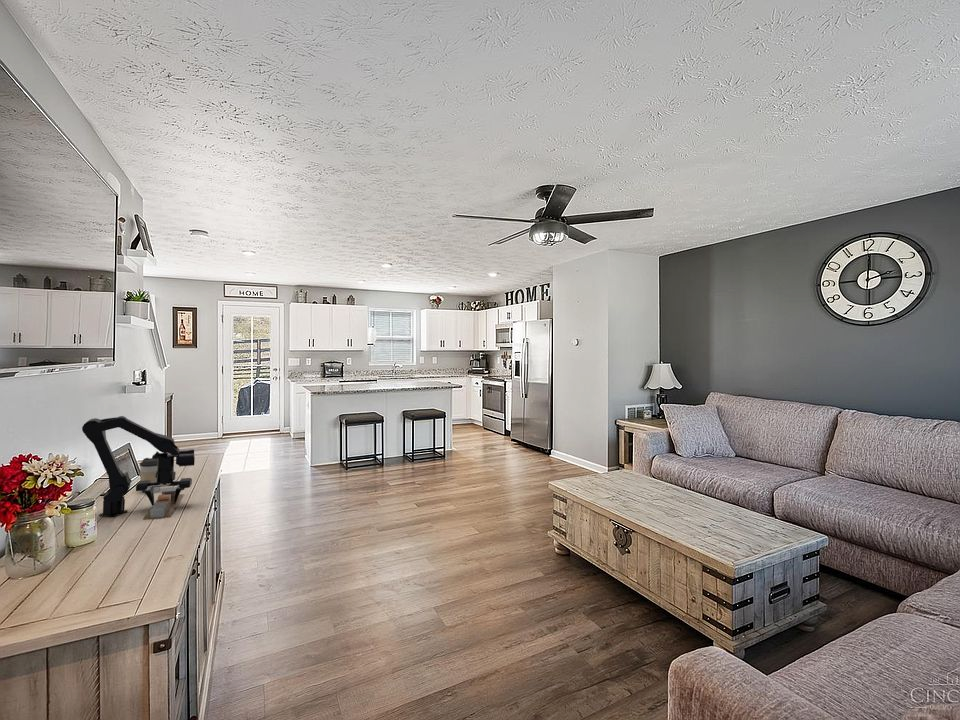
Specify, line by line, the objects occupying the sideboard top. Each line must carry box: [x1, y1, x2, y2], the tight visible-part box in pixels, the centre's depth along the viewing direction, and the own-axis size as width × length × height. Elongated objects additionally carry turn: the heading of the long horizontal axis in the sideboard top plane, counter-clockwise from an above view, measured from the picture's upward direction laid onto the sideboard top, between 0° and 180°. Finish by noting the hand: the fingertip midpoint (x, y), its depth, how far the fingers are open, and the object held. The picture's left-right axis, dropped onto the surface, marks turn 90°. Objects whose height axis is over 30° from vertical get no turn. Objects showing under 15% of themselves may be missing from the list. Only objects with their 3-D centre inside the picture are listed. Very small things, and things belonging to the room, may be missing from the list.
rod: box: [157, 494, 171, 506], centre depth 187 cm, size 16×4×4 cm, turn 24°
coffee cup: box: [139, 457, 161, 494], centre depth 209 cm, size 9×9×15 cm
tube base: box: [143, 486, 185, 520], centre depth 191 cm, size 28×9×4 cm, turn 24°
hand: (164, 504), depth 189 cm, fingers open, 7 cm apart
